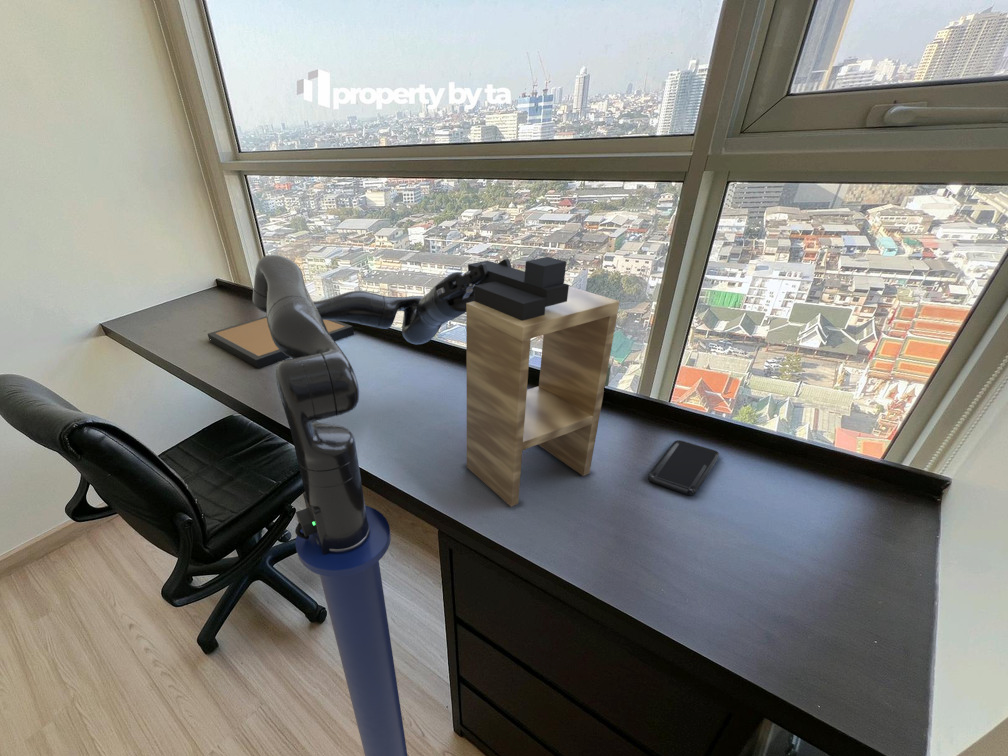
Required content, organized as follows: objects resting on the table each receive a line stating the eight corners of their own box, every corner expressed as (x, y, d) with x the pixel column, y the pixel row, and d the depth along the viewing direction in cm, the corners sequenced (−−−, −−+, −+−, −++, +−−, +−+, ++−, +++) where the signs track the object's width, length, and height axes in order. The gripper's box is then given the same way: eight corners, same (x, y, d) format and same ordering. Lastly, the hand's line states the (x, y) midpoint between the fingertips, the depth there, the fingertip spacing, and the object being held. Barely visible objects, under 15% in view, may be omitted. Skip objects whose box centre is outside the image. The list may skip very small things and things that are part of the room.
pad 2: (522, 320, 67) (523, 303, 66) (474, 301, 76) (474, 285, 75) (544, 315, 68) (546, 298, 67) (494, 296, 77) (495, 281, 76)
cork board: (298, 314, 183) (209, 341, 164) (297, 306, 181) (207, 333, 162) (354, 334, 160) (258, 368, 141) (352, 326, 158) (255, 359, 140)
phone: (647, 475, 85) (676, 438, 94) (646, 480, 86) (675, 443, 95) (695, 492, 81) (721, 452, 89) (694, 497, 81) (719, 457, 90)
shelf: (511, 507, 83) (522, 327, 65) (466, 467, 93) (466, 302, 76) (589, 473, 89) (619, 300, 71) (539, 439, 100) (555, 282, 82)
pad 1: (545, 307, 68) (549, 267, 65) (467, 278, 83) (467, 245, 80) (567, 301, 69) (571, 262, 66) (487, 274, 84) (487, 241, 81)
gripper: (485, 310, 97) (537, 281, 81) (424, 325, 92) (466, 298, 76) (475, 273, 96) (526, 237, 80) (413, 286, 91) (453, 251, 75)
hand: (496, 267), depth 78 cm, fingers closed on pad 1, 4 cm apart
